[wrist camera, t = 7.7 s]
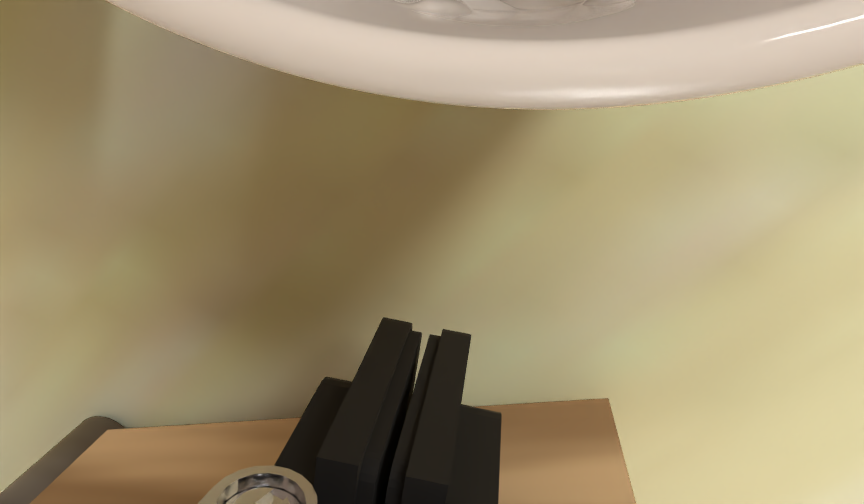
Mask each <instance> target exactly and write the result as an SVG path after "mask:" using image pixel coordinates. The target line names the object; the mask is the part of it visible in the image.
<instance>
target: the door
mask: <svg viewBox="0 0 864 504" xmlns="http://www.w3.org/2000/svg"><path fill="white" fill-rule="evenodd" d="M476 408H481V409H486V410H491V411H496V412H501V414H502V422H501V448H500V474H499V500H498V504H636V501H635V497H634V494H633V490H632V486H631V482H630V479H629V475H628V471H627V467H626V464H625V460H624V456H623V452H622V448H621V445H620V441H619V437H618V433H617V430H616V426H615V422H614V418H613V415H612V411H611V407H610V403H609V399H608V398H605V399H589V400H573V401H557V402H541V403H525V404H510V405H494V406H478V407H476ZM300 419H301V418H287V419H271V420H255V421H239V422H224V423H208V424H192V425H176V426H160V427H144V428H128V429H125V428H124V427H123V426H121V425H120V424H119V423H117V422H116V421H114V420H112V419H109V418H106V417H100V416H95V417H90V418H88V419H86V420H84V421H83V422H82V423H81V424H80V425H78V426H77V427H76V428H75V429H74V430H73V431H72V432H70V433H69V434H68V435H67V436H66V437H65V438H63V439H62V440H61V441H60V442H59V443H58V444H57V445H55V446H54V447H53V448H52V449H51V450H50V451H49V452H47V453H46V454H45V455H44V456H43V457H42V458H41V459H39V460H38V461H37V462H36V463H35V464H34V465H33V466H31V467H30V468H29V469H28V470H27V471H26V472H25V473H23V474H22V475H21V476H20V477H19V478H18V479H16V480H15V481H14V482H13V483H12V484H11V485H10V486H8V487H7V488H6V489H5V490H4V491H3V492H2V493H0V504H198V503H199V502H200V500H201V499H202V498H203V497H204V496H205V495H206V494H207V493H208V492H209V491H210V490H211V489H212V487H213V486H215V485H216V484H217V483H218V482H220V481H221V480H222V479H223V478H224V477H226V476H228V475H230V474H232V473H234V472H236V471H238V470H241V469H245V468H249V467H254V466H274V465H275V463H276V461H277V459H278V458H279V456H280V454H281V452H282V450H283V449H284V447H285V445H286V443H287V442H288V440H289V438H290V436H291V435H292V433H293V431H294V429H295V428H296V426H297V424H298V422H299V420H300Z"/></svg>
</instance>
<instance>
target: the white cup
mask: <svg viewBox="0 0 864 504" xmlns="http://www.w3.org/2000/svg"><path fill="white" fill-rule="evenodd" d="M105 1H107V2H109V3H111V4H113V5H115V6H117V7H119V8H121V9H123V10H125V11H127V12H129V13H131V14H133V15H135V16H137V17H139V18H141V19H143V20H146V21H148V22H150V23H152V24H155V25H157V26H159V27H161V28H163V29H166V30H168V31H170V32H173V33H175V34H177V35H180V36H182V37H184V38H187V39H189V40H192V41H194V42H197V43H199V44H202V45H204V46H207V47H210V48H212V49H215V50H217V51H220V52H223V53H226V54H229V55H231V56H234V57H237V58H240V59H243V60H246V61H249V62H252V63H255V64H258V65H261V66H264V67H267V68H271V69H274V70H277V71H281V72H284V73H288V74H291V75H295V76H298V77H302V78H306V79H310V80H314V81H318V82H321V83H326V84H330V85H334V86H339V87H343V88H348V89H353V90H357V91H362V92H367V93H372V94H378V95H384V96H390V97H396V98H402V99H409V100H416V101H423V102H431V103H439V104H448V105H458V106H470V107H483V108H501V109H531V110H568V109H597V108H614V107H628V106H640V105H651V104H661V103H669V102H678V101H686V100H693V99H700V98H707V97H714V96H720V95H726V94H732V93H738V92H744V91H749V90H755V89H760V88H765V87H770V86H775V85H780V84H784V83H789V82H793V81H798V80H802V79H807V78H811V77H815V76H819V75H823V74H827V73H831V72H835V71H839V70H843V69H847V68H851V67H854V66H858V65H862V64H864V0H105Z"/></svg>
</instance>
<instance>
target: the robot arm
mask: <svg viewBox="0 0 864 504" xmlns="http://www.w3.org/2000/svg"><path fill="white" fill-rule="evenodd" d="M421 338H422V333H421V332H416V331H412V323H410V322H405V321H399V320H394V319H389V318H384V317H383V319H382V321H381V323H380V325H379V327H378V329H377V331H376V333H375V336H374V338H373V340H372V342H371V344H370V346H369V348H368V350H367V352H366V354H365V356H364V359H363V361H362V363H361V365H360V367H359V369H358V371H357V373H356V375H355V377H354V380H353V382H350V381H345V380H340V379H335V378H330V377H325V378H324V379H323V380H322V382H321V383H320V385H319V387H318V389H317V390H316V392H315V394H314V396H313V398H312V399H311V401H310V403H309V405H308V406H307V408H306V410H305V412H304V413H303V415H302V417H301V419H300V420H299V422H298V424H297V426H296V428H295V429H294V431H293V433H292V435H291V436H290V438H289V440H288V442H287V443H286V445H285V447H284V449H283V450H282V452H281V454H280V456H279V458H278V459H277V461H276V463H275V465H274V466H254V467H249V468H245V469H241V470H238V471H236V472H234V473H232V474H230V475H228V476H226V477H224V478H223V479H222V480H221V481H220V482H218V483H217V484H216V485H215V486H213V487H212V489H211V490H210V491H209V492H208V493H207V494H206V495H205V496H204V497H203V498H202V499H201V500H200V502H199V503H198V504H498V500H499V474H500V448H501V422H502V414H501V412H496V411H491V410H486V409H481V408H476V407H472V406H467V405H462V404H461V400H462V393H463V387H464V380H465V373H466V367H467V360H468V354H469V347H470V340H471V334H466V333H460V332H455V331H450V330H445V329H443V330H442V334H441V336H436V335H431V334H430V336H429V339H428V342H427V346H426V349H425V353H424V356H423V360H422V363H421V367H420V370H419V373H418V377H417V380H416V384H415V387H414V382H415V375H416V369H417V363H418V357H419V350H420V344H421ZM413 388H414V391H413Z"/></svg>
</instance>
